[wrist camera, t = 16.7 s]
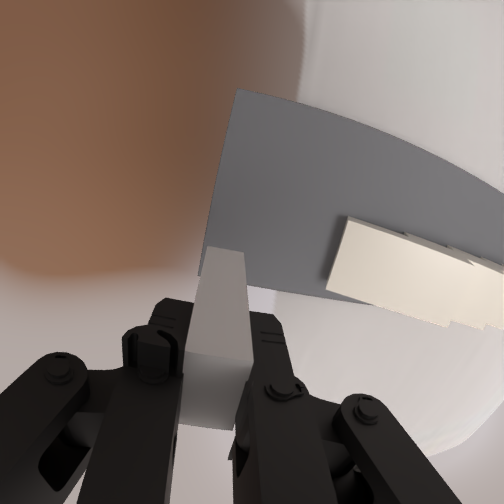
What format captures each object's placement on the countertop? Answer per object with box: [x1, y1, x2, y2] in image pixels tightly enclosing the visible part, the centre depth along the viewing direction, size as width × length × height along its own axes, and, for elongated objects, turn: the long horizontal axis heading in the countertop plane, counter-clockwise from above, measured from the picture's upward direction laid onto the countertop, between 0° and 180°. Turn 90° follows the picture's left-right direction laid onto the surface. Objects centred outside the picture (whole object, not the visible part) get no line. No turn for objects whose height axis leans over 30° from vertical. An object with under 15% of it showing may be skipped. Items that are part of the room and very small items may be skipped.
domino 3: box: [447, 245, 504, 330], centre depth 20 cm, size 5×2×10 cm
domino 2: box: [404, 232, 504, 330], centre depth 20 cm, size 5×2×10 cm
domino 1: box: [326, 216, 476, 328], centre depth 19 cm, size 5×2×10 cm
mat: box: [198, 88, 504, 306], centre depth 21 cm, size 13×34×1 cm, turn 77°
